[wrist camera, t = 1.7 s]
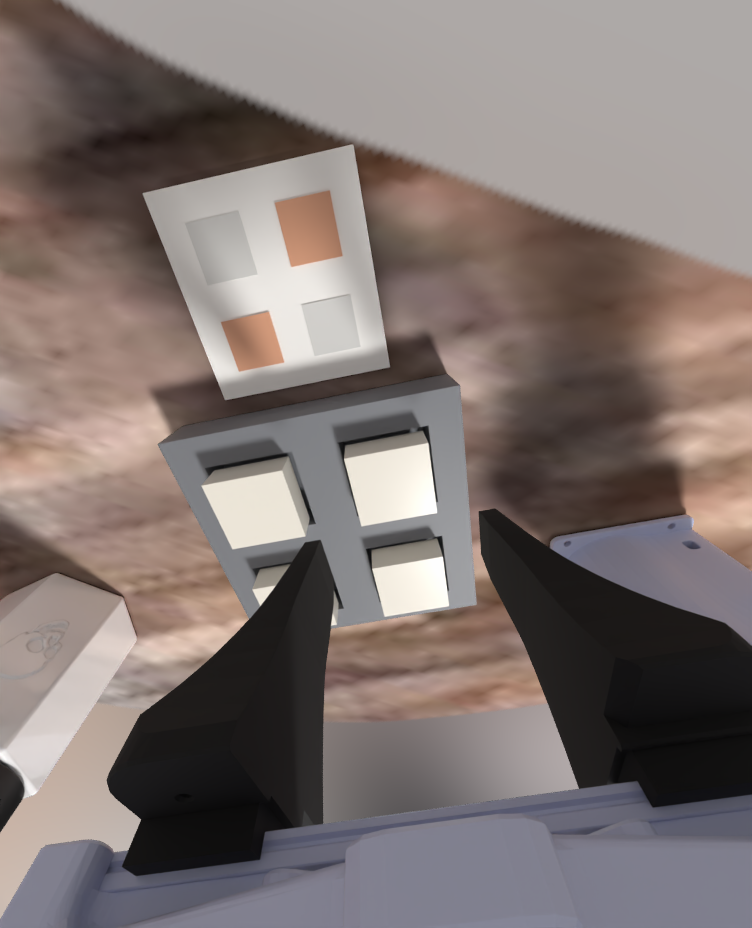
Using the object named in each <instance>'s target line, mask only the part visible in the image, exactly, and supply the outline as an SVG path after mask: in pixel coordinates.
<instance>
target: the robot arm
mask: <svg viewBox="0 0 752 928" xmlns="http://www.w3.org/2000/svg"><path fill="white" fill-rule="evenodd" d="M693 523H694V519H693V518H692V517H690V516H689V515H679V516H674V517H668V518H662V519H656V520H650V521H645V522H639V523H633V524H627V525H621V526H615V527H610V528H604V529H598V530H592V531H586V532H581V533H575V534H569V535H563V536H557V537H555V538H553V539H552V540H551V542H550V548H549V547H547V546H546V545H544V544H543V543H541V542H540V541H539V540H537V539H536V538H534V537H533V536H531V535H530V534H529V533H527V532H526V531H524V530H523V529H522V528H520V527H519V526H518V525H516V524H515V523H514V522H512V521H511V520H510V519H508V518H507V517H506V516H505V515H503V514H502V513H501V512H499V511H498V510H496V509H490V510H485V511H479V525H480V542H481V555H482V557H483V560H484V563H485V566H486V568H487V571H488V573H489V576H490V579H491V581H492V583H493V585H494V586H495V588H496V590H497V592H498V594H499V596H500V598H501V600H502V602H503V604H504V606H505V608H506V610H507V612H508V613H509V615H510V617H511V619H512V621H513V623H514V625H515V627H516V629H517V631H518V633H519V635H520V637H521V639H522V641H523V643H524V645H525V647H526V650H527V652H528V655H529V657H530V660H531V662H532V665H533V667H534V669H535V672H536V674H537V677H538V679H539V682H540V685H541V687H542V690H543V692H544V695H545V697H546V700H547V702H548V705H549V708H550V710H551V713H552V715H553V718H554V721H555V723H556V726H557V729H558V732H559V734H560V737H561V740H562V742H563V745H564V748H565V751H566V753H567V756H568V759H569V761H570V764H571V767H572V770H573V773H574V775H575V779H576V781H577V784H578V787H579V789H575V790H568V791H560V792H553V793H546V794H539V795H532V796H524V797H516V798H509V799H502V800H495V801H487V802H480V803H473V804H465V805H458V806H451V807H443V808H436V809H429V810H422V811H415V812H407V813H399V814H392V815H385V816H377V817H370V818H363V819H356V820H348V821H341V822H334V823H327V824H323V710H324V683H325V669H326V660H327V653H328V645H329V638H330V630H331V622H332V615H333V606H334V578H333V575H332V572H331V569H330V566H329V563H328V560H327V557H326V554H325V551H324V548H323V545H322V542H321V540H315V541H310V542H305V543H304V545H303V546H302V547H301V549H300V550H299V552H298V553H297V555H296V557H295V558H294V560H293V561H292V563H291V564H290V566H289V567H288V569H287V570H286V572H285V573H284V575H283V576H282V577H281V579H280V580H279V582H278V583H277V585H276V586H275V587H274V589H273V590H272V591H271V593H270V594H269V595H268V597H267V598H266V599H265V601H264V602H263V603H262V605H261V606H260V607H259V608H258V610H257V611H256V612H255V613H254V614H253V615H252V617H251V618H250V619H249V620H248V621H247V622H246V623H245V624H244V626H243V627H242V628H241V629H240V630H239V631H238V632H237V633H236V634H235V635H234V636H233V637H232V638H231V639H230V640H229V641H228V642H227V643H226V644H225V645H224V646H223V647H222V648H221V649H220V650H219V651H218V652H217V653H216V654H215V655H214V656H213V657H211V658H210V659H209V660H208V661H207V662H206V663H205V664H204V665H202V666H201V667H200V668H199V669H198V670H197V671H196V672H194V673H193V674H192V675H191V676H190V677H188V678H187V679H186V680H185V681H184V682H182V683H181V684H180V685H179V686H178V687H176V688H175V689H174V690H172V691H171V692H170V693H168V694H167V695H166V696H164V697H163V698H162V699H161V700H159V701H158V702H157V703H155V704H154V705H153V706H151V707H150V708H149V709H147V710H146V711H145V712H143V713H142V714H140V716H139V718H138V719H137V721H136V723H135V725H134V727H133V729H132V731H131V733H130V734H129V736H128V738H127V740H126V742H125V744H124V746H123V748H122V750H121V751H120V753H119V755H118V757H117V759H116V761H115V763H114V765H113V767H112V768H111V770H110V772H109V775H108V778H107V784H108V787H109V791H110V793H111V794H112V795H113V796H114V797H115V798H116V799H117V800H118V801H120V802H121V803H122V804H123V805H124V806H126V807H127V808H128V809H129V810H131V811H132V812H133V813H135V815H137V816H138V817H139V818H140V819H141V822H140V824H139V826H138V829H137V831H136V834H135V836H134V838H133V841H132V843H131V845H130V848H129V850H128V851H121V852H113V850H112V848H111V847H109V846H108V845H107V844H105V843H103V842H101V841H97V840H79V841H73V842H65V843H58V844H51V845H46V846H45V847H43V848H41V850H40V852H39V853H38V855H37V857H36V859H35V860H34V862H33V864H32V865H31V867H30V869H29V871H28V872H27V874H26V876H25V878H24V879H23V881H22V883H21V884H20V886H19V888H18V890H17V891H16V893H15V895H14V897H13V899H12V900H11V902H10V904H9V905H8V907H7V909H6V910H5V912H4V914H3V916H2V917H1V919H0V928H752V571H750V570H749V569H748V568H746V567H745V566H743V565H742V564H740V563H739V562H738V561H736V560H735V559H733V558H732V557H730V556H729V555H728V554H726V553H725V552H723V551H722V550H721V549H719V548H718V547H716V546H715V545H713V544H712V543H711V542H709V541H708V540H706V539H705V538H703V537H702V536H701V535H699V534H698V533H696V532H695V531H694V530H692V526H693ZM566 541H567V542H566ZM565 542H566V543H565Z"/></svg>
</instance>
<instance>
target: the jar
mask: <svg viewBox="0 0 752 928" xmlns="http://www.w3.org/2000/svg"><path fill="white" fill-rule="evenodd" d="M136 641H137V636H136V633H135V630H134V627H133V624H132V621H131V618H130V615H129V612H128V610H127V607H126V604H125V601H124V598H123V597H121V596H118V595H116V594H113V593H110V592H108V591H105V590H102V589H99V588H97V587H94V586H91V585H89V584H86V583H83V582H81V581H78V580H75V579H73V578H70V577H67V576H65V575H62V574H59V573H54V574H52V575H50V576H47V577H45V578H43V579H41V580H39V581H37V582H34V583H32V584H30V585H28V586H26V587H24V588H21V589H19V590H17V591H15V592H13V593H11V594H8V595H7V596H5V597H4V598H3V599H2V600H1V601H0V832H1V831H2V829H3V827H4V826H5V825H6V823H7V822H8V820H9V819H10V817H11V816H12V814H13V813H14V811H15V810H16V808H17V807H18V805H19V803H20V802H21V800H22V799H23V798H27V797H30V796H33V795H34V794H36V793H37V792H38V790H39V789H40V788H41V786H42V785H43V783H44V781H45V780H46V778H47V777H48V775H49V774H50V772H51V771H52V769H53V768H54V766H55V765H56V763H57V762H58V760H59V758H60V757H61V755H62V754H63V752H64V751H65V749H66V748H67V746H68V745H69V743H70V742H71V740H72V739H73V737H74V736H75V734H76V732H77V731H78V729H79V728H80V726H81V725H82V723H83V722H84V720H85V719H86V717H87V716H88V714H89V713H90V711H91V710H92V708H93V706H94V705H95V703H96V702H97V700H98V699H99V697H100V696H101V694H102V693H103V691H104V690H105V688H106V687H107V685H108V684H109V682H110V680H111V679H112V677H113V676H114V674H115V673H116V671H117V670H118V668H119V667H120V665H121V664H122V662H123V661H124V659H125V658H126V656H127V654H128V653H129V651H130V650H131V648H132V647H133V645H134V644H135V642H136Z"/></svg>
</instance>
